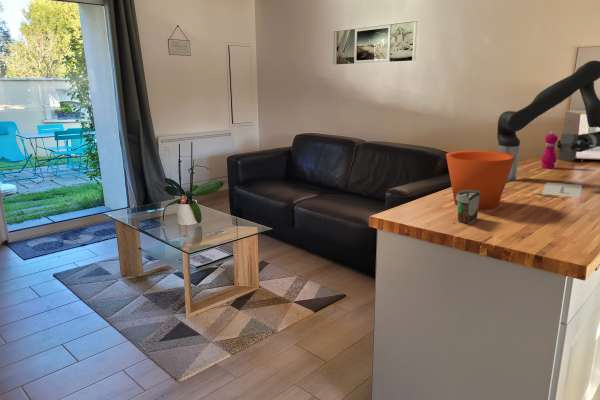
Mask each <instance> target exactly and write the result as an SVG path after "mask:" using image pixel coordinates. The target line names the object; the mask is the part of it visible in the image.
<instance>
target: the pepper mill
mask: <svg viewBox="0 0 600 400" xmlns="http://www.w3.org/2000/svg"><path fill="white" fill-rule="evenodd" d="M549 133H550V134H547V135H546V136H545V137H544V141H545V151H544V153H543V155H542V157H541V160H540V161H541V163H542V164H541V168H542V169H545V170H546V169H548V170H549V169H550V170H554V169H555V166H556V165H555V163H556V162H557V155H556V153H555V147H557V143H558V141H559V138H558V136H557V135H556V134H555V132H554V131H550V132H549Z"/></svg>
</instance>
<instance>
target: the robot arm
mask: <svg viewBox="0 0 600 400" xmlns="http://www.w3.org/2000/svg"><path fill="white" fill-rule="evenodd" d="M599 79H600V61H599V60H590V61H588V62H586V63H584V64H582V65H581V66H579V67H578V68H577V69H576V71H575V72H574V73H572V74H571V75H569V76H566V77H565V78H563V79H561V80H559V81H557V82H555V83H552V85H550V86H548V87H546V88H545V89H543V90H542V91H540V92H539V93H538V94H537V95H536V96H535V97H534V98H533V100H532V101H531V102H530V103H529V104H528V105H526V106H525V107H523V108H521V109H519V110H517V111H512V110H506V111H504V112H502V113H500V116H499V118H498V121H497V133H496V134H497V141H498V145H497V146H498V147H497V152H503V153H508V154H512V155H514V156H515V159H514V162H513V165H512V167H511V170H510V173H509V176H508V179H507V181H506V183H511V182H514V181H515V182H516V181H517V177H518V176H517V174H518V166H519V165H518V163H519V153H520V146H521V145H520V144H521V140H520V138H518V136H517V134H516V133H517V132H519V131H521V130H522V129H524V128H525V127H526V126H528V125H529V124H531V122H533V121H534V120H535V119H537V118H538V117H540V116H541V115H543V114H545V113H546V112H548V111H549V110H551V109H553V108H555V107H556V106H558V105H559V104H561V103H562V102H564V101H565V100H567V99H568V98H570V97H571V96H572V95H573V94H574V93H576V92H577V91H578V90H579V92H580V95H581V98H582V102H583V105H584V109H585V115H586V119H587V125H588V127H589V128H599V129H600V99H599V97H598V96H597V93H596V91H595V82H596V81H597V80H599ZM560 142H561V139H558V140H557V143H556V147H557V149H559V150H560V144H561V143H560ZM599 147H600V130H599V131H595V132H588V133H582V134H578V140H577V144H572V145H571V150H574V149H576V153H580V152H581V153H582V152H586V151H589V150H591V149H592V150H593V149H595V148H599Z"/></svg>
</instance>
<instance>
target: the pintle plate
mask: <svg viewBox="0 0 600 400" xmlns="http://www.w3.org/2000/svg"><path fill="white" fill-rule="evenodd" d="M582 187H583V185H582V184H572V183H561V182H547V181H546V182H545V185H544V187H543V189H542V191H541V194H540V197H544V198H555V199H561V197H558V196H562V197H563V199H564V200H565V199H567V198H566V197H572V198H581V195H582ZM564 197H565V198H564Z"/></svg>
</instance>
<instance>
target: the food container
mask: <svg viewBox="0 0 600 400" xmlns="http://www.w3.org/2000/svg"><path fill="white" fill-rule="evenodd" d="M479 197H480V191H477V190H465V191H460V192H458V194H457V196H456V200H457V201H458V206H457V222H459V223H461V224H462V223H463V225H466V224H467V226H469V225H470V224H472V223H473V222H474V221H476V220H477V219H478V214H479V213H478V212H479V210H478V206H479ZM476 218H477V219H476ZM473 220H474V221H473ZM472 221H473V222H472ZM468 224H469V225H468Z"/></svg>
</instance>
